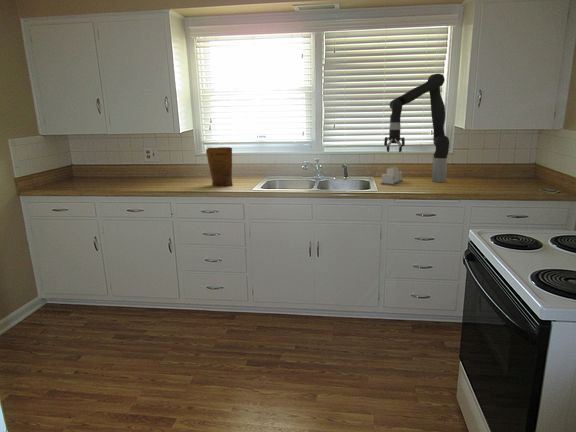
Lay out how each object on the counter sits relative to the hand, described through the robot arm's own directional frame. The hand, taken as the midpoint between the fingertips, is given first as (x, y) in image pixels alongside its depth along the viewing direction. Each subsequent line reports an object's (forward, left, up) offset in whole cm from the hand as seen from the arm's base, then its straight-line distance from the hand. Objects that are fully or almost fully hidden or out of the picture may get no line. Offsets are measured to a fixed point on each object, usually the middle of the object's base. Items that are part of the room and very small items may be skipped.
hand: (394, 152), depth 305 cm
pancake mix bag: (+103, +70, -22) cm, 126 cm away
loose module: (0, +1, -21) cm, 21 cm away
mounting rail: (0, +1, -22) cm, 22 cm away
